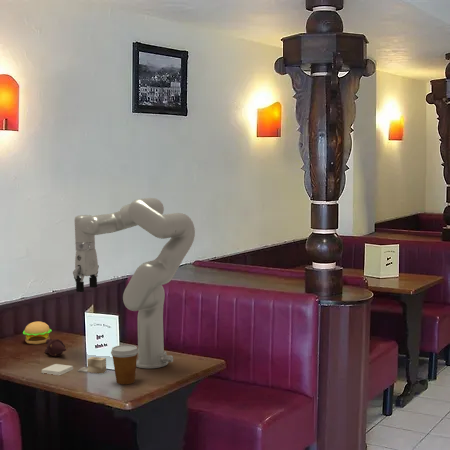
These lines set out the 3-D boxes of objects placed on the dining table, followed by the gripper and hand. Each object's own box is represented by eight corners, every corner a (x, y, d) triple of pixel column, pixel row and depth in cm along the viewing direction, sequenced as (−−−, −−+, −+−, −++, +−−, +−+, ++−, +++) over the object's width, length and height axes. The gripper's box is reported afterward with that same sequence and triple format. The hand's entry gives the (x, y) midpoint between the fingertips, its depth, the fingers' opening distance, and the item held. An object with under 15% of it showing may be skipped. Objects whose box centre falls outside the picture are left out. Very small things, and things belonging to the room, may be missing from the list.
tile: (72, 366, 264) (55, 363, 268) (59, 371, 257) (41, 369, 260) (73, 370, 264) (55, 368, 268) (59, 376, 257) (41, 374, 260)
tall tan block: (107, 371, 261) (106, 357, 261) (101, 374, 258) (101, 360, 257) (83, 368, 265) (82, 355, 265) (77, 371, 261) (77, 358, 261)
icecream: (75, 341, 281) (55, 338, 292) (58, 339, 276) (39, 336, 287) (72, 359, 280) (53, 355, 291) (56, 358, 275) (36, 354, 286)
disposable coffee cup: (134, 386, 243) (133, 352, 241) (108, 385, 244) (106, 351, 243) (142, 378, 252) (141, 344, 251) (117, 377, 254) (115, 344, 252)
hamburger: (51, 344, 303) (51, 324, 302) (22, 346, 300) (21, 326, 299) (52, 337, 314) (51, 318, 313) (23, 339, 311) (22, 320, 311)
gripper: (81, 249, 271) (83, 293, 272) (104, 244, 287) (106, 286, 289) (64, 249, 274) (66, 293, 275) (88, 243, 290) (90, 285, 291)
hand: (86, 289), depth 282 cm, fingers open, 9 cm apart
